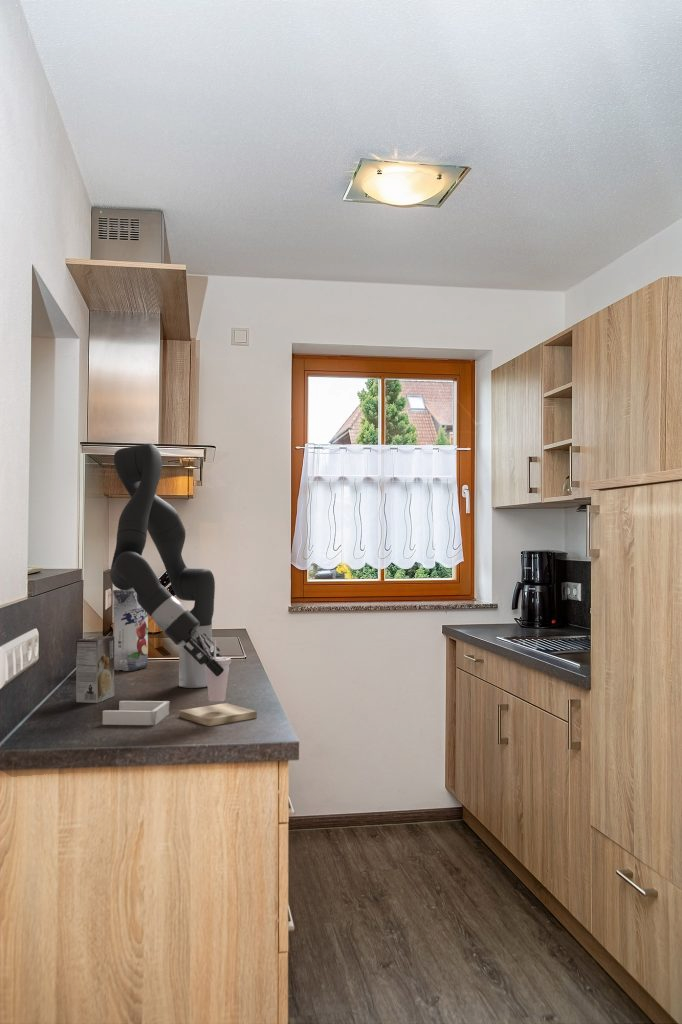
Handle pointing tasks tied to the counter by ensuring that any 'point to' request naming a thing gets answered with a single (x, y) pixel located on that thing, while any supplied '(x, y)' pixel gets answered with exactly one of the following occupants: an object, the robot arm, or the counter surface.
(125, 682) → the counter surface
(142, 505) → the robot arm
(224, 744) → the counter surface
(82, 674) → the coffee box
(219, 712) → the brass board
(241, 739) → the counter surface
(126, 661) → the juice carton
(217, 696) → the smoothie
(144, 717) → the frame
